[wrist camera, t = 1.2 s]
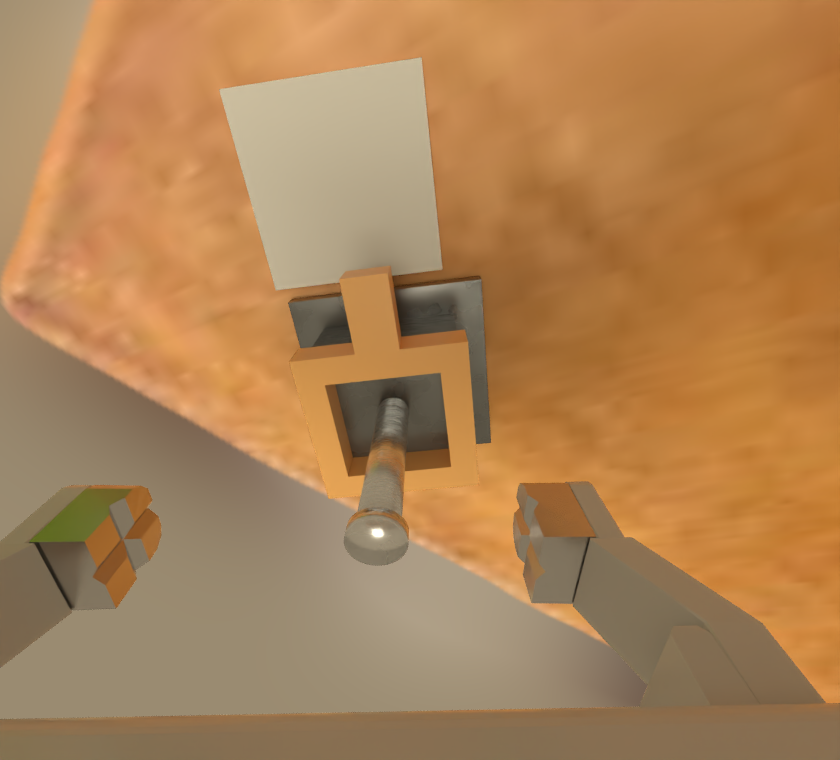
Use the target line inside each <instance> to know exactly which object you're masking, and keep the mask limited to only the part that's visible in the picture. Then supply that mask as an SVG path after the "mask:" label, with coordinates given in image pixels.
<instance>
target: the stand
mask: <svg viewBox="0 0 840 760" xmlns="http://www.w3.org/2000/svg"><path fill="white" fill-rule="evenodd" d="M394 292H395V298H396V305H397V311H398V318H399V324H400V331H401V337H404V336H413V335H421V334H430V333H439V332H447V331H456V330H465V332H466V336H467V340H468V348H469V361H470V374H471V387H472V399H473V412H474V425H475V438H476V444H482V443H491V436H490V419H489V402H488V385H487V368H486V351H485V334H484V317H483V300H482V283H481V278H480V276H475V277H467V278H459V279H451V280H443V281H435V282H427V283H419V284H410V285H402V286H394ZM288 304H289V307H290V311H291V315H292V318H293V322H294V326H295V329H296V333H297V337H298V340H299V344H300V348H309V347H317V346H326V345H335V344H343V343H352V339H351V334H350V329H349V325H348V320H347V315H346V311H345V306H344V301H343V296H342V293H337V294H329V295H321V296H313V297H305V298H297V299H292V300H291V301H290V302H289V303H288ZM335 386H336V390H337V394H338V398H339V402H340V406H341V410H342V414H343V419H344V423H345V427H346V431H347V435H348V439H349V443H350V447H351V451H352V456H353V458H355V457H365V456H369V457H368V463H367V468H366V473H365V478H364V483H363V488H362V493H361V498H360V503H359V508H358V512H356V513H355V514H354V515H353V516H352V517H351V518H350V519H349V521H348V524H347V527H346V532H345V536H344V545H345V548H346V550H347V552H348V553H349V554H350V555H351V556H352V557H353V558H354V559H356V560H358V561H360V562H362V563H365V564H369V565H387V564H391V563H393V562H396V561H397V560H399V559H400V558H402V557H403V556H404V554H405V553H406V551H407V548H408V539H409V528H408V525H407V523H406V521H405V519H404V518H403V517H402V509H403V494H404V479H405V463H406V453H407V452H417V451H427V450H438V449H448V448H449V442H448V434H447V425H446V416H445V407H444V399H443V390H442V381H441V373H433V374H424V375H415V376H406V377H397V378H387V379H378V380H369V381H360V382H351V383H342V384H335Z"/></svg>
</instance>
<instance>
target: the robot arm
mask: <svg viewBox="0 0 840 760" xmlns="http://www.w3.org/2000/svg"><path fill="white" fill-rule="evenodd" d="M517 500H518V503H519V506H520V508H519V509H518V510H517V511H516V512H515V513H514V521H513V535H514V543H515V548H516V552H517V555H518V557H519V558H520V559H521V560H522V561H523V562H524V563H525V565H524V572H523V576H524V580H525V583H526V586H527V590H528V593H529V596H530V600H531V603H562V604H573V607H574V608H575V609H576V610H577V611H578V612H579V613H580V614H581V615H582V616H583V617H584V618H585V619H586V620H587V621H588V623H589V624H590V625H591V626H592V627H593V628H594V629H595V630H596V631H597V632H598V633H599V634H600V635H601V636H602V637H603V639H604V640H605V641H606V642H607V643H608V644H609V645H610V646H611V647H612V648H613V649H614V650H615V651H616V652H617V654H618V655H619V656H620V657H621V658H622V659H623V660H624V661H625V662H626V663H627V664H628V665H629V666H630V667H631V668H632V670H633V671H634V672H635V673H636V674H637V675H638V676H639V677H640V678H641V679H642V680H643V681H644V682H645V683H646V684H647V689H646V691H645V693H644V696H643V698H642V700H641V703H640V705H639V707H607V708H606V707H605V708H557V709H556V708H552V709H504V710H503V709H500V710H454V711H453V710H449V711H397V712H348V713H347V712H346V713H298V714H297V713H296V714H243V715H196V716H195V715H193V716H192V715H191V716H145V717H144V716H143V717H91V718H90V717H88V718H41V719H40V718H35V719H0V760H840V703H825V701H824V700H823V699H822V698H821V696H820V695H819V694H818V692H817V691H816V690H815V689H814V687H813V686H812V685H811V684H810V682H809V681H808V680H807V679H806V677H805V676H804V675H803V674H802V672H801V671H800V670H799V669H798V667H797V666H796V665H795V664H794V662H793V661H792V660H791V659H790V657H789V656H788V655H787V654H786V652H785V651H784V650H783V649H782V647H781V646H780V645H779V644H778V642H777V641H776V640H775V639H774V637H773V636H772V635H771V634H770V632H769V631H768V630H767V629H766V627H765V626H764V625H763V624H762V623H761V622H760V621H758V620H757V619H755V618H754V617H752V616H751V615H749V614H748V613H746V612H745V611H743V610H741V609H740V608H738V607H737V606H735V605H734V604H732V603H731V602H729V601H728V600H726V599H725V598H723V597H722V596H720V595H719V594H717V593H716V592H714V591H713V590H711V589H710V588H708V587H706V586H705V585H703V584H702V583H700V582H699V581H697V580H696V579H694V578H693V577H691V576H690V575H688V574H687V573H685V572H684V571H682V570H681V569H679V568H678V567H676V566H675V565H673V564H671V563H670V562H668V561H667V560H665V559H664V558H662V557H661V556H659V555H658V554H656V553H655V552H653V551H652V550H650V549H649V548H647V547H646V546H644V545H643V544H641V543H640V542H638V541H636V540H635V539H633V538H632V537H624V535H623V534H622V532H621V531H620V529H619V527H618V526H617V524H616V522H615V521H614V519H613V518H612V516H611V514H610V513H609V511H608V509H607V508H606V506H605V505H604V503H603V501H602V500H601V498H600V497H599V495H598V493H597V492H596V490H595V488H594V487H593V485H592V484H591V483H589V482H565V483H520V485H519V487H518V492H517ZM151 502H152V498H151V495H150V493H149V491H148V488H145V487H142V486H124V485H94V486H92V485H71V486H67V487H64V488H62V489H61V490H59V491H58V492H57V493H56V494H55V495H54V496H52V497H51V498H50V499H49V500H48V501H47V502H46V503H44V504H43V505H42V506H41V507H40V508H39V509H37V510H36V511H35V512H34V513H33V514H31V515H30V516H29V517H28V518H27V519H26V520H25V521H24V522H23V523H21V524H20V525H19V526H18V527H16V528H15V529H14V530H13V531H12V532H11V533H10V534H8V535H7V536H6V537H5V538H4V539H2V540H1V541H0V668H1V667H2V666H3V665H4V664H6V663H7V662H8V661H10V660H11V659H12V658H13V657H15V656H16V655H17V654H19V653H20V652H21V651H23V650H24V649H25V648H27V647H28V646H29V645H30V644H32V643H33V642H34V641H36V640H37V639H38V638H40V637H41V636H42V635H43V634H45V633H46V632H47V631H49V630H50V629H51V628H53V627H54V626H55V625H56V624H58V623H59V622H60V621H61V620H63V619H64V618H66V617H67V616H68V615H69V614H71V613H72V611H71V610H92V609H116V608H117V607H118V605H119V604H120V602H121V601H122V599H123V598H124V597H125V595H126V594H127V592H128V591H129V589H130V588H131V587H132V585H133V584H134V582H135V581H136V579H137V577H136V569H138V568H139V567H141V566H142V565H144V564H145V563H147V562H148V561H150V559H151V557H152V556H153V555H154V553H155V551H156V550H157V548H158V544H159V541H160V538H161V523H160V520H159V517H158V516H157V515H156V514H155V513H154V512H152V511H151V510H150V509H149V508H148V507H149V505H150V504H151Z"/></svg>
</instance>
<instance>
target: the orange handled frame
mask: <svg viewBox="0 0 840 760" xmlns="http://www.w3.org/2000/svg"><path fill="white" fill-rule="evenodd" d="M339 282H340V287H341V292H342V296H343V301H344V306H345V311H346V315H347V320H348V325H349V329H350V334H351V339H352V343H343V344H335V345H326V346H317V347H309V348H300V349H298V350H297V352H296V353H295V354H294V356H293V357H292V358H291V360H290V361H289V364H290V368H291V371H292V375H293V378H294V382H295V385H296V388H297V392H298V395H299V399H300V402H301V406H302V409H303V412H304V416H305V419H306V423H307V426H308V430H309V433H310V436H311V440H312V443H313V447H314V450H315V454H316V457H317V460H318V464H319V467H320V471H321V474H322V478H323V481H324V484H325V488H326V491H327V495H328V498H329V499H331V498H342V497H353V496H361V493H362V488H363V483H364V478H365V473H366V468H367V463H368V457H369V456H365V457H355V458H353V456H352V451H351V447H350V443H349V439H348V435H347V431H346V427H345V423H344V419H343V414H342V410H341V406H340V402H339V398H338V394H337V390H336V386H335V384H342V383H351V382H360V381H369V380H378V379H387V378H397V377H406V376H415V375H424V374H433V373H441V381H442V390H443V399H444V407H445V416H446V425H447V434H448V442H449V448H448V449H438V450H427V451H417V452H407V453H406V463H405V479H404V492H408V491H419V490H430V489H441V488H452V487H463V486H474V485H479V476H478V463H477V450H476V438H475V425H474V412H473V399H472V387H471V374H470V361H469V348H468V340H467V336H466V332H465V330H456V331H447V332H439V333H430V334H421V335H413V336H404V337H401V331H400V324H399V318H398V311H397V305H396V298H395V292H394V285H393V279H392V272H391V266H383V267H375V268H367V269H359V270H351V271H345V273H344V274H343V275H342V276H341V277H340V279H339Z"/></svg>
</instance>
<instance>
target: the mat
mask: <svg viewBox="0 0 840 760" xmlns="http://www.w3.org/2000/svg"><path fill="white" fill-rule="evenodd" d="M219 91H220V94H221V98H222V101H223V105H224V108H225V112H226V115H227V119H228V122H229V126H230V130H231V133H232V137H233V140H234V144H235V147H236V151H237V154H238V158H239V161H240V165H241V168H242V172H243V176H244V179H245V183H246V186H247V190H248V193H249V197H250V200H251V204H252V207H253V211H254V214H255V218H256V222H257V225H258V229H259V232H260V236H261V239H262V243H263V246H264V250H265V253H266V257H267V260H268V264H269V267H270V271H271V275H272V278H273V282H274V285H275V289H276V290H283V289H291V288H299V287H307V286H315V285H323V284H331V283H339V279H340V277H341V276H342V275H343V274H344V273H345V271H351V270H359V269H367V268H375V267H383V266H391V272H392V276H395V275H403V274H411V273H419V272H427V271H435V270H443V268H442V258H441V248H440V238H439V228H438V218H437V208H436V198H435V188H434V178H433V168H432V158H431V148H430V138H429V127H428V117H427V107H426V97H425V87H424V77H423V67H422V57H420V58H414V59H408V60H401V61H395V62H389V63H382V64H376V65H370V66H363V67H357V68H351V69H345V70H338V71H332V72H326V73H319V74H313V75H307V76H300V77H294V78H288V79H281V80H275V81H269V82H263V83H256V84H250V85H244V86H237V87H231V88H225V89H219Z"/></svg>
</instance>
